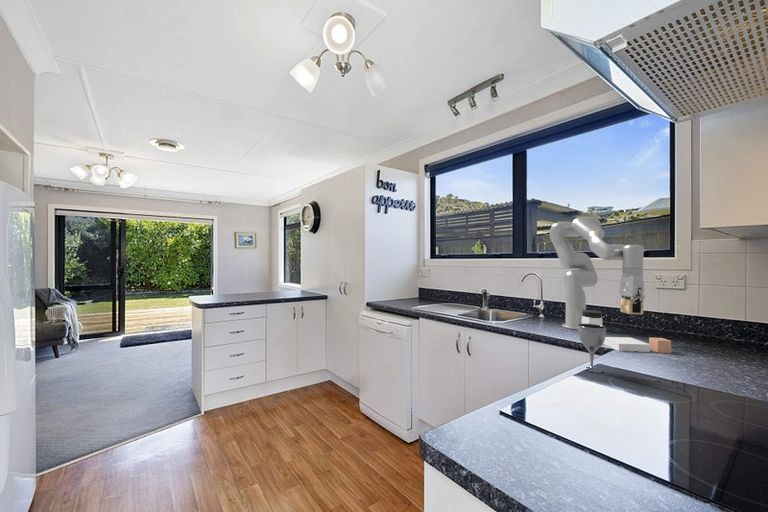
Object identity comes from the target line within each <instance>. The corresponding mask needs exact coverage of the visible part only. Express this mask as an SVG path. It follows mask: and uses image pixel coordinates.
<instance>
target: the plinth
mask: <svg viewBox="0 0 768 512" xmlns="http://www.w3.org/2000/svg"><path fill="white" fill-rule="evenodd" d="M603 345H605V346H607V347H609V346H610V347H609V348H611V347H612V348H611V349H613V348H614V350H616V351H618V352H634V351H638V353H640V352H641V353H650V352H651V350H650V344H649V343H647V342H644V341H641V340H639V339H636V338H634V337H628V336H625V337H623V336H620V337H619V336H605V341H604V343H603Z"/></svg>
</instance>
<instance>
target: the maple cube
mask: <svg viewBox="0 0 768 512" xmlns="http://www.w3.org/2000/svg"><path fill="white" fill-rule="evenodd" d="M636 300H637V299H636ZM633 304H634V302H633V298H631V299H623V298H620V313H623V314H627V315H644V300H643V301H642V304H641V313H633V312H632V306H633Z"/></svg>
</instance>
